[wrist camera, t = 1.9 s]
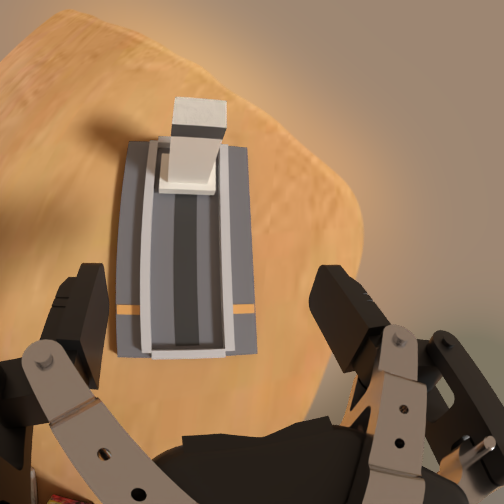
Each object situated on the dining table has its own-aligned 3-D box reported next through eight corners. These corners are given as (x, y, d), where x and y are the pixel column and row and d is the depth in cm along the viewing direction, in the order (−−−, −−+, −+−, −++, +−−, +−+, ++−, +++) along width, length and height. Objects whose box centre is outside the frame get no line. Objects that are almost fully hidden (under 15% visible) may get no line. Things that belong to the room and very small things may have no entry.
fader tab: (158, 193, 26) (159, 131, 17) (161, 158, 27) (165, 90, 18) (213, 195, 27) (238, 136, 18) (213, 161, 28) (237, 96, 19)
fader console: (119, 355, 23) (115, 358, 21) (129, 146, 28) (128, 135, 26) (254, 352, 26) (260, 354, 25) (244, 152, 31) (249, 142, 29)
